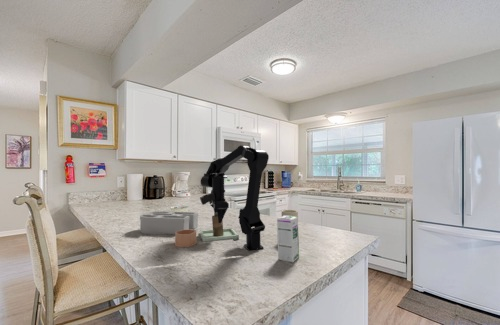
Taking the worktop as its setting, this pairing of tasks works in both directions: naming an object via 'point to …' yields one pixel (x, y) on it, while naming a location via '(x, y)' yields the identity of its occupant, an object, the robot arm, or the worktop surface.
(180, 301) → the worktop surface
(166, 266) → the worktop surface
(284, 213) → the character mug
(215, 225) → the pepper mill
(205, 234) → the tray
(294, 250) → the syrup box
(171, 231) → the ice cube tray
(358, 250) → the worktop surface
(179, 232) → the utensil pot
